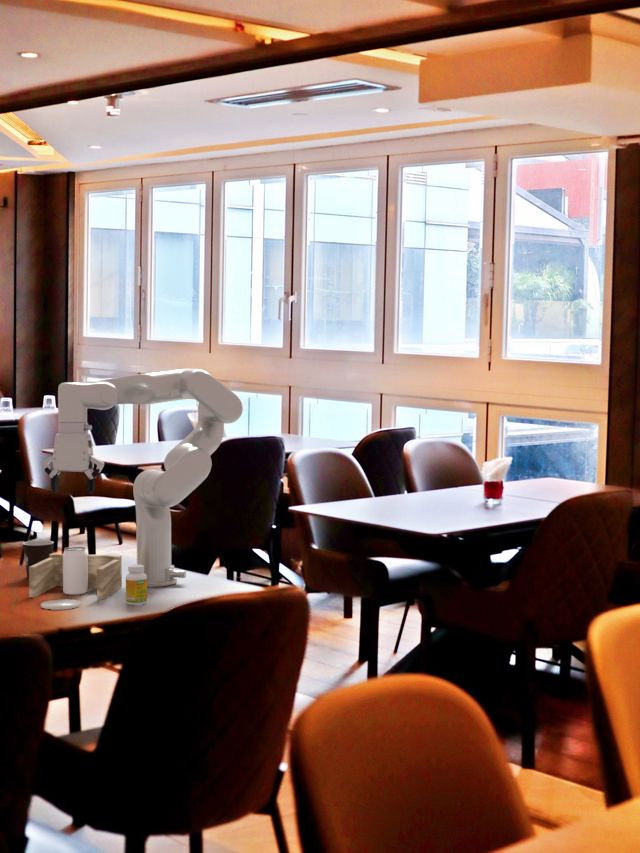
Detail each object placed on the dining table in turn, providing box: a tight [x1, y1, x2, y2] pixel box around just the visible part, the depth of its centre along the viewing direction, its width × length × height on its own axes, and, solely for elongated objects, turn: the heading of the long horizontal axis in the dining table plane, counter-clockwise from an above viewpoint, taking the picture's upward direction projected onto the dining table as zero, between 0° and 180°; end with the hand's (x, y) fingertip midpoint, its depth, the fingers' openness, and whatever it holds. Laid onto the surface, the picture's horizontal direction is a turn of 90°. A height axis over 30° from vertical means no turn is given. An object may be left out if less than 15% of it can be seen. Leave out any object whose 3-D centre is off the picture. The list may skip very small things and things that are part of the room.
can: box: [62, 546, 89, 596], centre depth 324 cm, size 6×6×12 cm
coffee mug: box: [22, 539, 55, 580], centre depth 346 cm, size 12×9×10 cm
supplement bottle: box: [125, 564, 148, 606], centre depth 311 cm, size 5×5×10 cm
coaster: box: [40, 598, 82, 611], centre depth 308 cm, size 10×10×1 cm
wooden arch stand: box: [28, 553, 123, 600], centre depth 324 cm, size 20×16×9 cm
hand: (72, 493), depth 323 cm, fingers open, 9 cm apart
